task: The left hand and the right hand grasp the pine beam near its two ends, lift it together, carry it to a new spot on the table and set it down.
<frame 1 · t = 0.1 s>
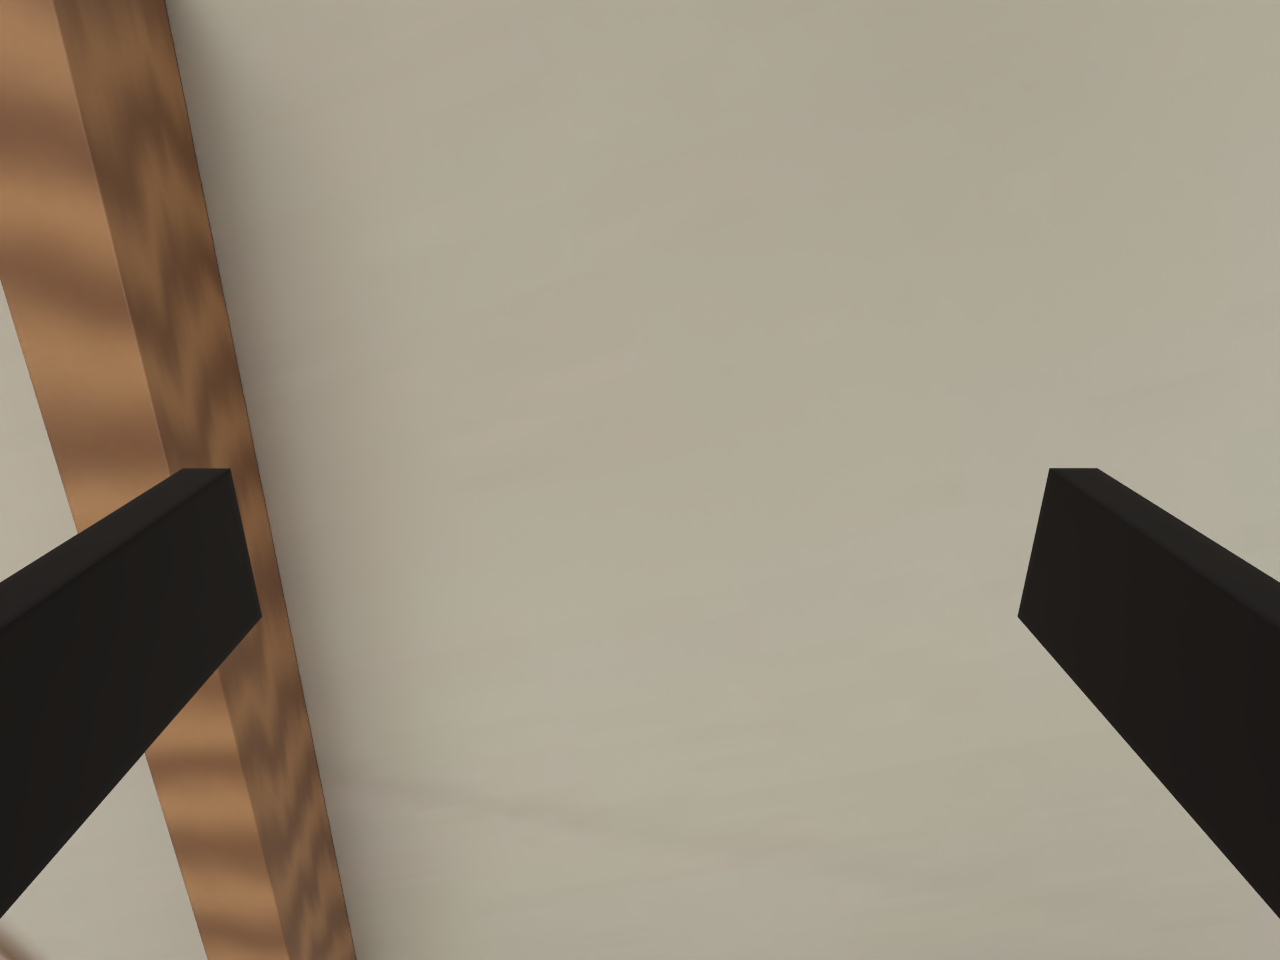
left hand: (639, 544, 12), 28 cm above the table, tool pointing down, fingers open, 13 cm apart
beam: (243, 600, 45), on the table
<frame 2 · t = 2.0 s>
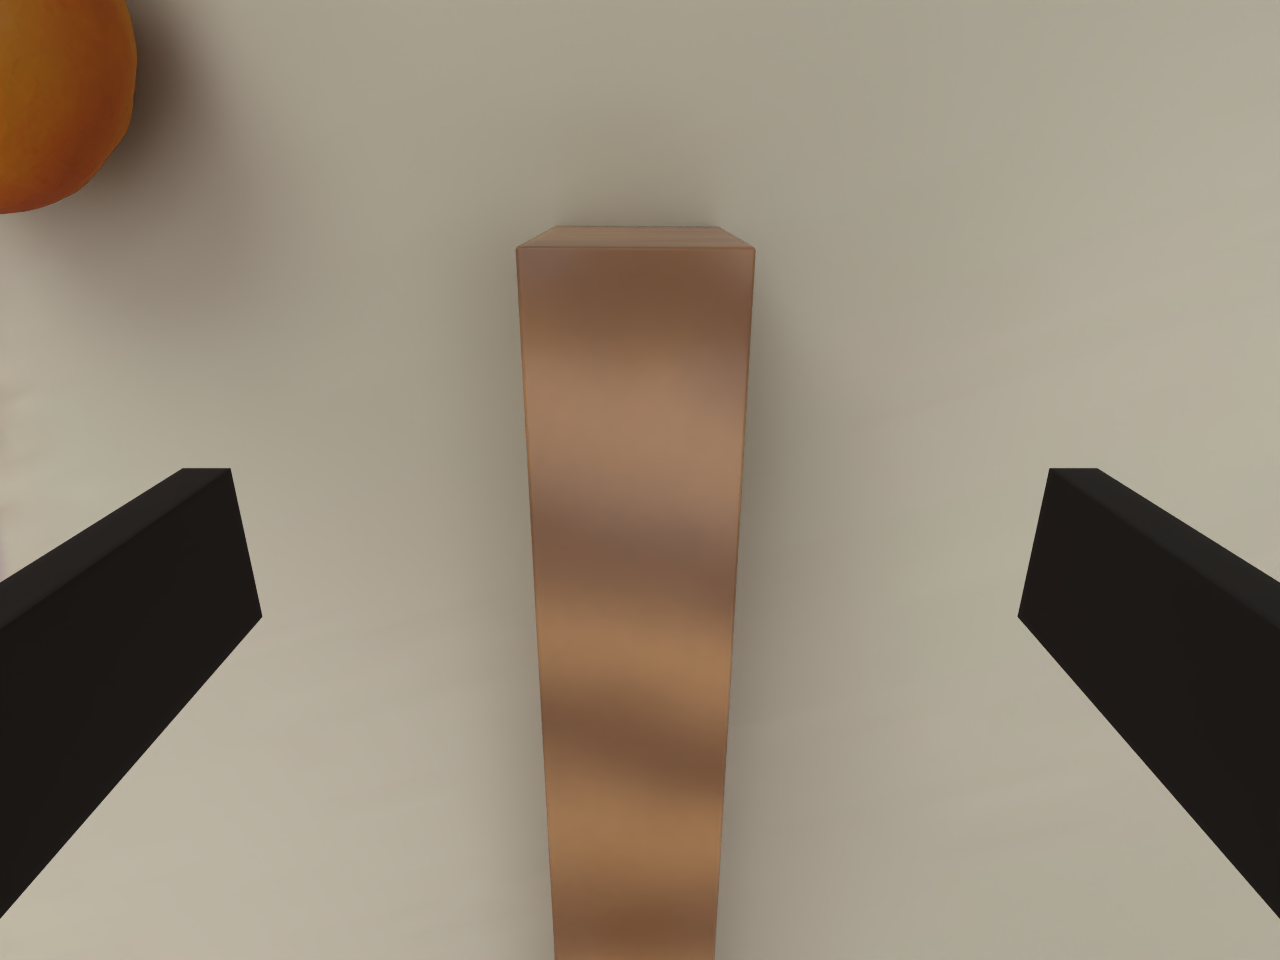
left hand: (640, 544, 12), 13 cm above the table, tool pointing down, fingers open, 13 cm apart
fruit: (36, 44, 21), on the table
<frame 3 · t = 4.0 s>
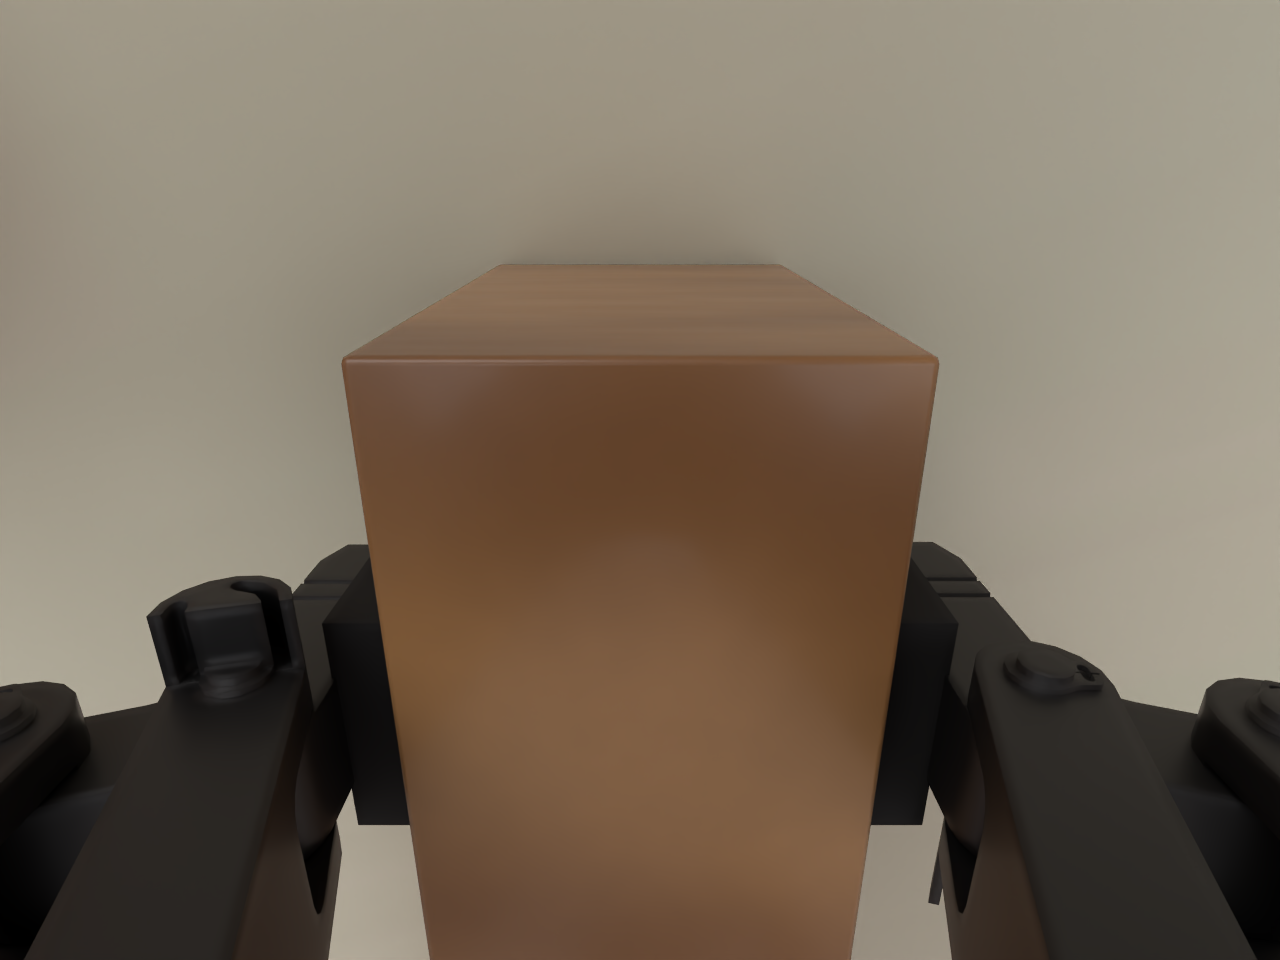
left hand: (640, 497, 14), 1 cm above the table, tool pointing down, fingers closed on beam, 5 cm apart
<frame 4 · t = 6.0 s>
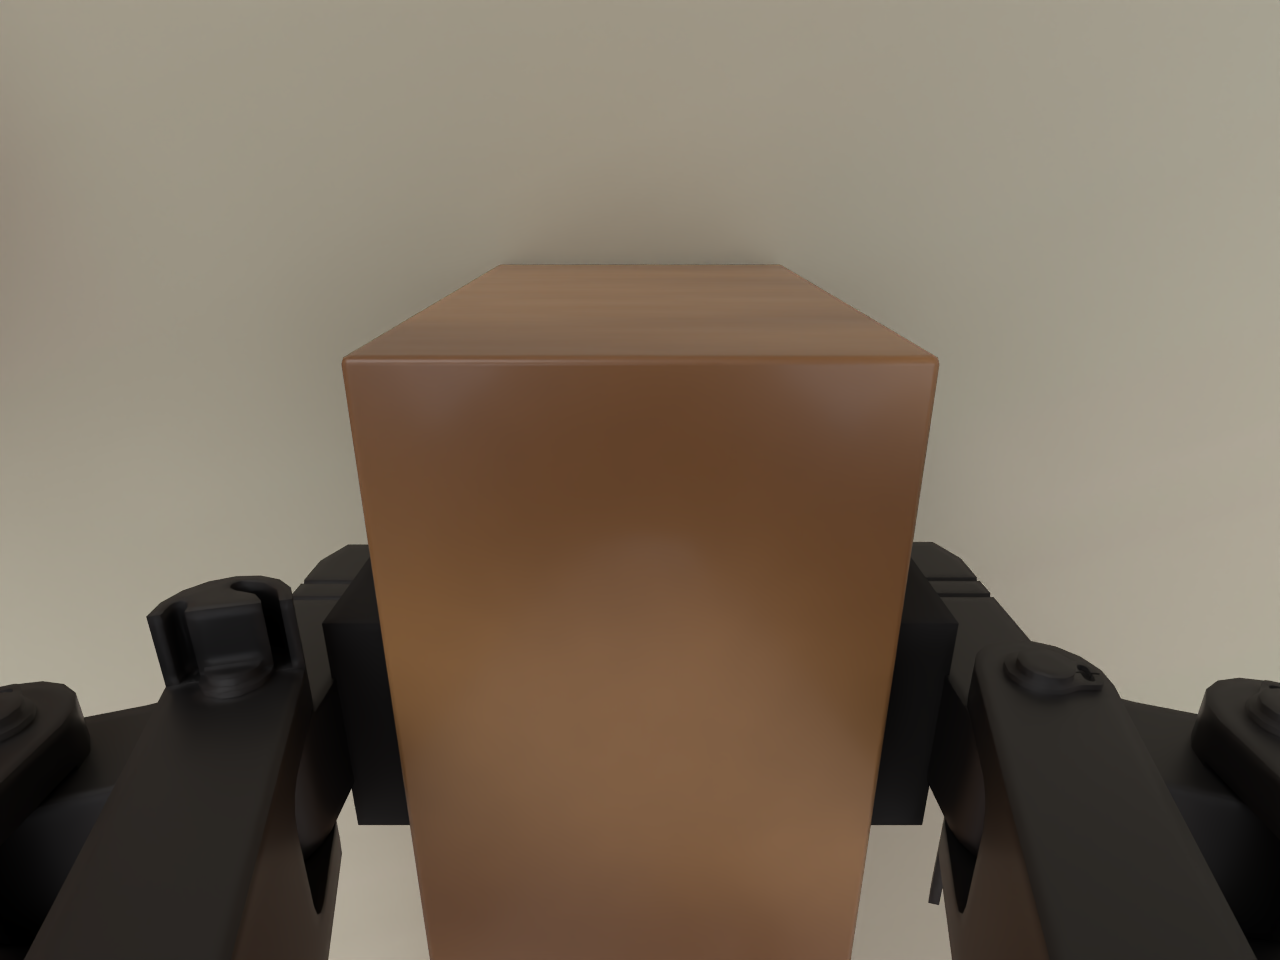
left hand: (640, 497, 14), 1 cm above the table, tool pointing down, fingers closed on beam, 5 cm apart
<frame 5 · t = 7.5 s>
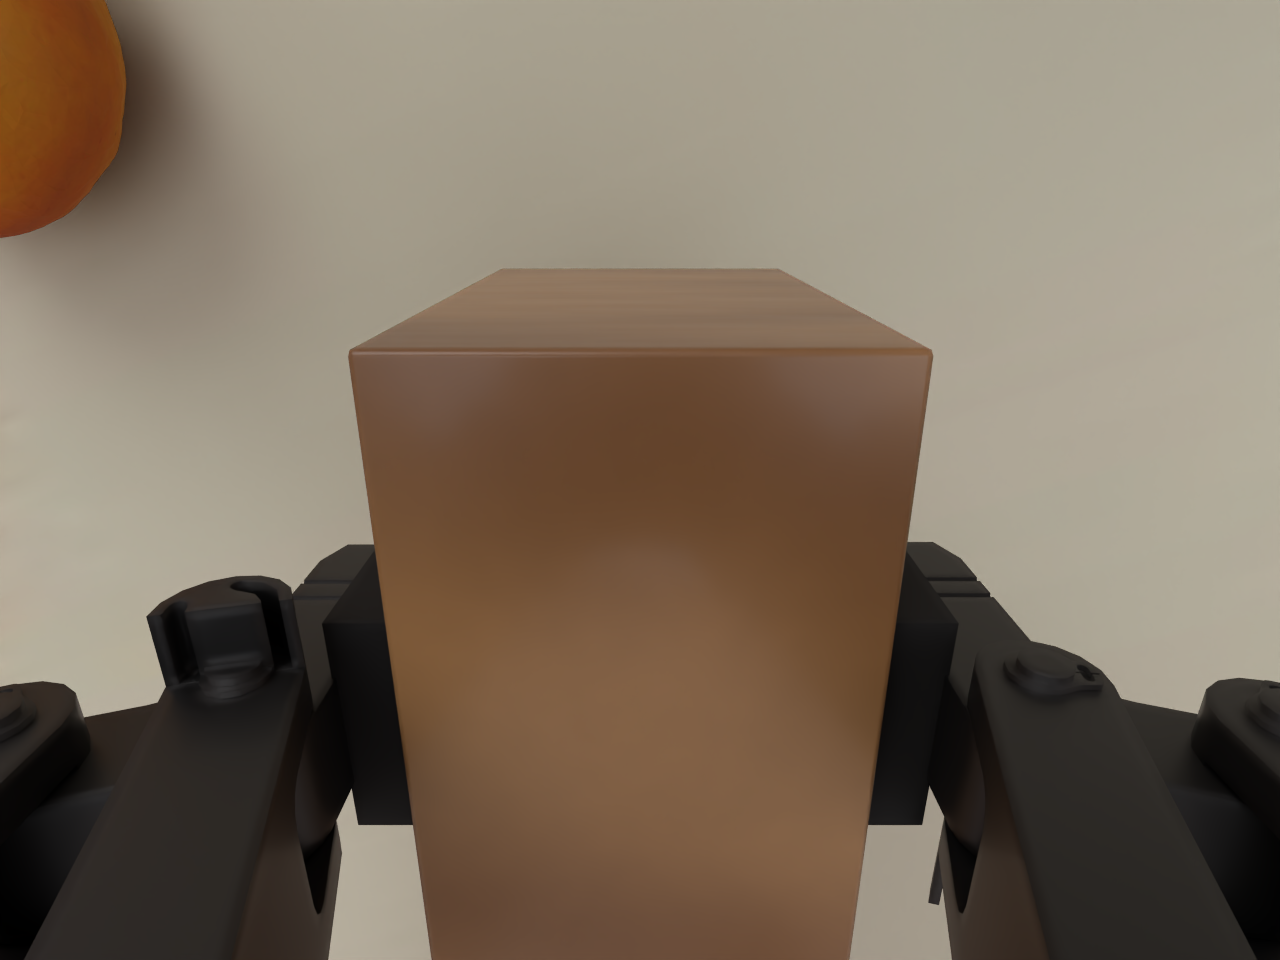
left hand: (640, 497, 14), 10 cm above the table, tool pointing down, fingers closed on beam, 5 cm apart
fruit: (24, 68, 21), on the table
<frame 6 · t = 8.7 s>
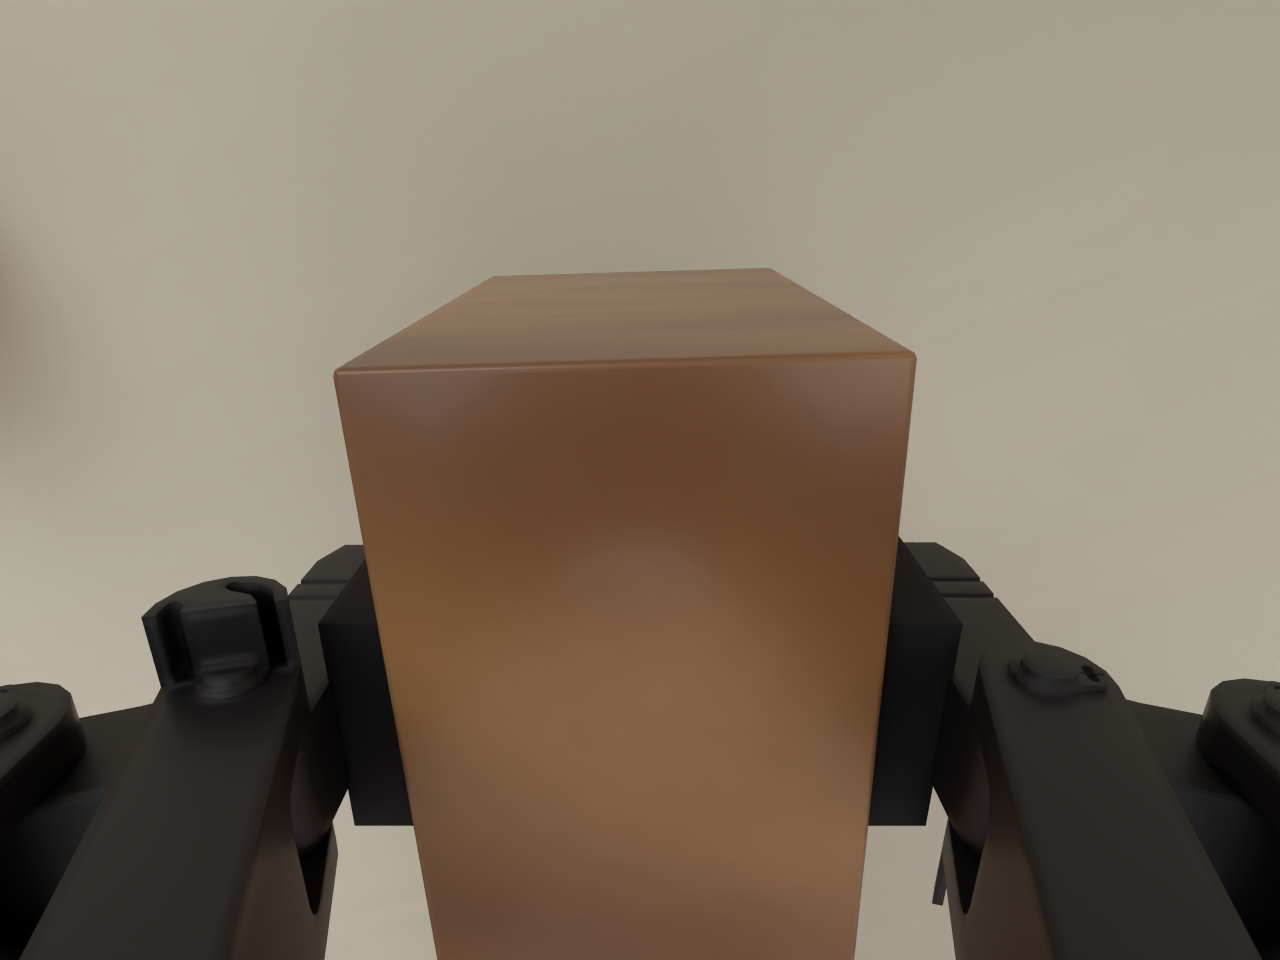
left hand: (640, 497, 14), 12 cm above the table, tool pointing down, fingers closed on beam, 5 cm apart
when the left hand's fingers open (2 cm above the table, at t = 11.4 s): beam drops 1 cm, on the table.
when the right hand's fingers open (4 cm above the table, at t = 11.6 s): beam stays where it is, on the table.
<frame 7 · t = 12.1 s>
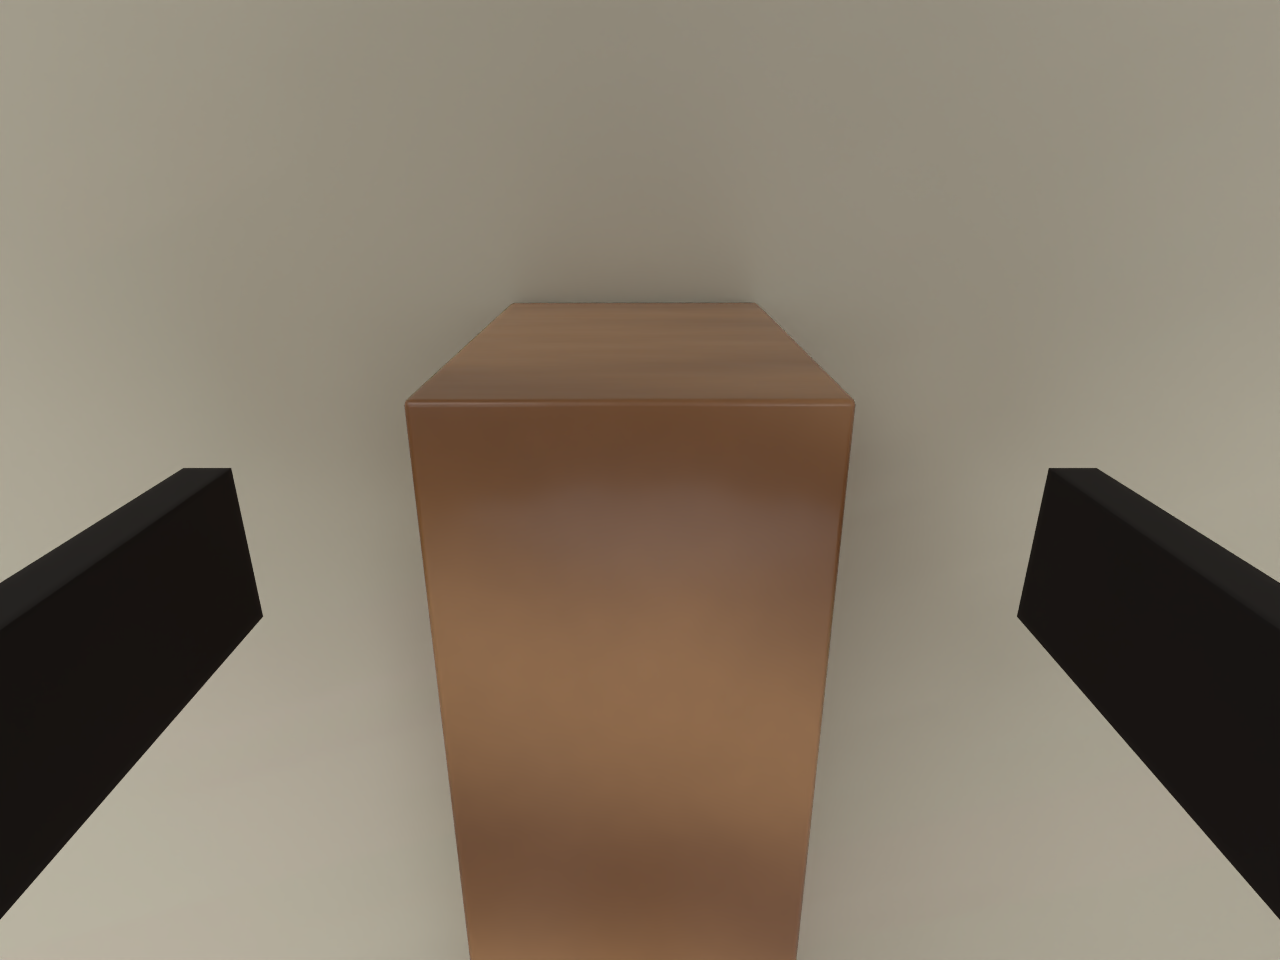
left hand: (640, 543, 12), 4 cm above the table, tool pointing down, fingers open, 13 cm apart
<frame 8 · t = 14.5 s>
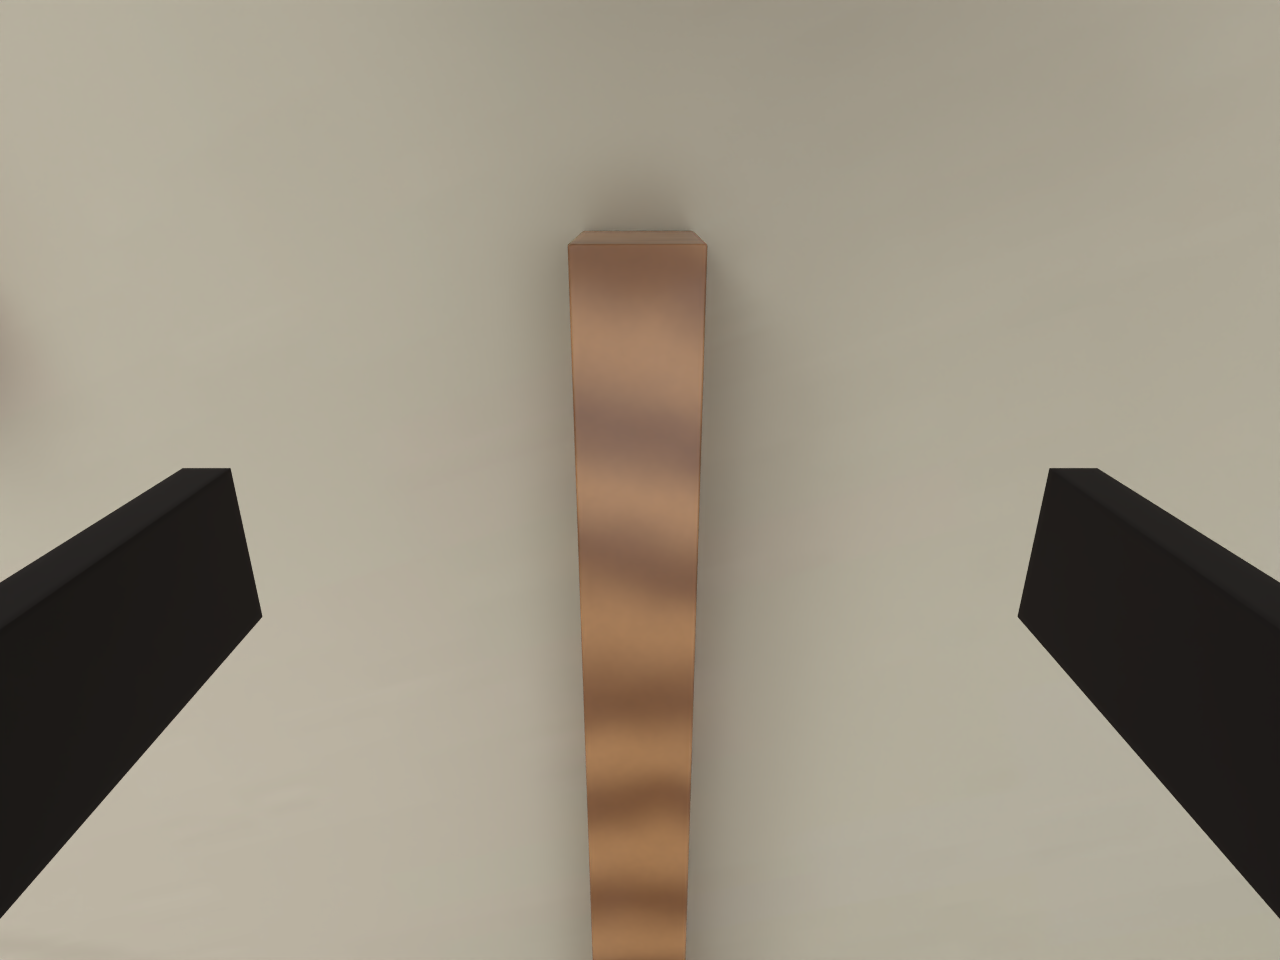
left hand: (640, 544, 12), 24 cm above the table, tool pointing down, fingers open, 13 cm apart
beam: (639, 787, 46), on the table
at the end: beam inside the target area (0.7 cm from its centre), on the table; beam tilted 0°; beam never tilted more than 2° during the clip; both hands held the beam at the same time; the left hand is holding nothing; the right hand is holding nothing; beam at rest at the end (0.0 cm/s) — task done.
